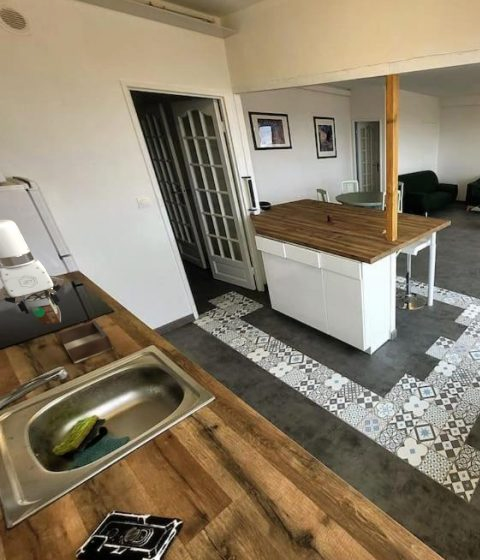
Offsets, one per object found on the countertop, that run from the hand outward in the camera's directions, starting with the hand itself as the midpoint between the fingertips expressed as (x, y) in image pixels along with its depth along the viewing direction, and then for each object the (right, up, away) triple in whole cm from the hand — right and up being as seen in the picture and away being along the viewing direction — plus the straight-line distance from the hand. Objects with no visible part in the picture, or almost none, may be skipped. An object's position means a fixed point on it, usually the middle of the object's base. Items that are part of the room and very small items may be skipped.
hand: (42, 307), depth 105 cm
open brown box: (+4, -16, +13) cm, 21 cm away
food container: (0, -5, +2) cm, 5 cm away
